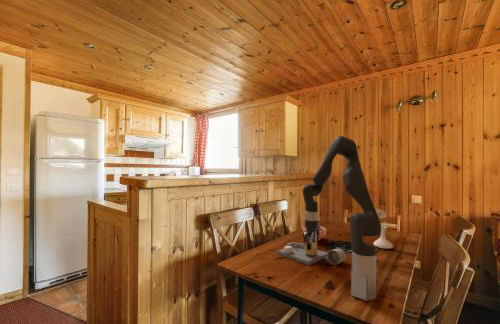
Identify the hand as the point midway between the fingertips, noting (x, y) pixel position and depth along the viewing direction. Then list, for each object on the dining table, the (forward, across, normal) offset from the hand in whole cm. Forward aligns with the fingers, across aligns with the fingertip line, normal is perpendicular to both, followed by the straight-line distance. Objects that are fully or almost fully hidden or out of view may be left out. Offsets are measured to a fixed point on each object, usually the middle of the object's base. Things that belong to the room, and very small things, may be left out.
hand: (311, 248), depth 140 cm
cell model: (+5, +34, +20) cm, 39 cm away
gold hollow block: (+2, 0, 0) cm, 2 cm away
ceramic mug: (+6, +5, -11) cm, 14 cm away
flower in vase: (+6, +53, -19) cm, 57 cm away
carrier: (+5, 0, +6) cm, 8 cm away
